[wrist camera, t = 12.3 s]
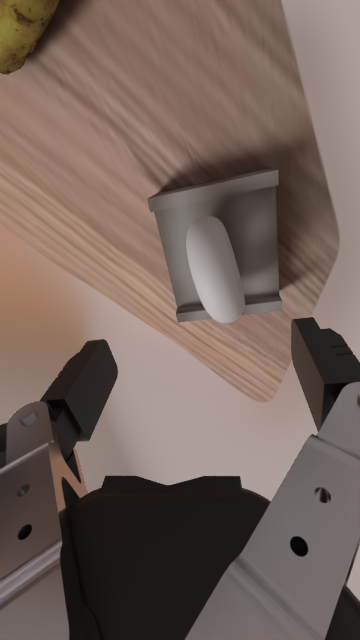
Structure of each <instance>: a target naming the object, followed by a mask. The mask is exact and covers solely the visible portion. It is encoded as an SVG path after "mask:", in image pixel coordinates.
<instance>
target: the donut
mask: <svg viewBox="0 0 360 640" xmlns="http://www.w3.org/2000/svg"><path fill="white" fill-rule="evenodd" d="M186 248H187V256H188V262H189V266H190V270H191V274H192V278H193V281H194V284H195V287H196V290H197V293H198V295H199V298H200V300H201V302H202V304H203V306H204V308H205V309H206V311H207V313H208V314H209V315H210V316H211V317H212V318H213V319H215V320H216V321H218V322H221V323H231V322H233V321H235V320H237V319H238V318H239V317H240V316H241V315H242V313H243V312H244V308H245V298H244V292H243V287H242V282H241V278H240V274H239V270H238V266H237V263H236V259H235V255H234V252H233V249H232V246H231V242H230V239H229V237H228V234H227V231H226V229H225V227H224V225H223V223H222V222H221V221H220V220H219V219H218V218H216V217H214V216H203V217H199V218H198V219H196V220H194V221H193V222H192V224H191V225H190V227H189V229H188V232H187V238H186Z"/></svg>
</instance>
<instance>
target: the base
mask: <svg viewBox="0 0 360 640" xmlns="http://www.w3.org/2000/svg"><path fill="white" fill-rule="evenodd" d="M276 185H279V178H278V170H277V169H272V168H268V169H263V170H259V171H255V172H250V173H246V174H241V175H237V176H232V177H228V178H224V179H219V180H215V181H210V182H206V183H201V184H197V185H192V186H188V187H184V188H179V189H175V190H170V191H166V192H161V193H157V194H155V195H153V196H152V197H150V198H148V199H147V200H148V204H149V208H150V212H153V211H154V213H155V217H156V221H157V225H158V229H159V233H160V237H161V242H162V246H163V250H164V254H165V258H166V262H167V266H168V270H169V275H170V279H171V283H172V287H173V291H174V295H175V299H176V304H177V312H176V316H177V320H178V322H185V321H194V320H203V319H211V318H212V317H211V316H210V315H209V314H208V313H207V311H206V309H205V308H204V306H203V304H202V302H201V300H200V298H199V295H198V293H197V290H196V287H195V284H194V281H193V278H192V274H191V270H190V266H189V262H188V256H187V248H186V238H187V232H188V229H189V227H190V225H191V224H192V222H193V221H194V220H196V219H198V218H199V217H203V216H214V217H216V218H218V219H219V220H220V221H221V222H222V223H223V225H224V227H225V229H226V231H227V234H228V237H229V239H230V242H231V246H232V249H233V252H234V255H235V259H236V263H237V266H238V270H239V274H240V278H241V282H242V287H243V292H244V298H245V308H244V312H243V313H242V315H246V314H254V313H263V312H271V311H280V310H282V300H281V298H280V295H279V270H278V239H277V208H276Z"/></svg>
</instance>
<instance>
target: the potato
mask: <svg viewBox="0 0 360 640" xmlns="http://www.w3.org/2000/svg"><path fill="white" fill-rule="evenodd" d="M58 3H59V0H0V73H3V74H10V73H12V72H14V71H16V70H18V69H20V68H21V67H22V66H24V63H25V60H26V58H27V54H28V53H31V52H33V51H34V50H35V48H36V46H37V44H38V42H39V40H40V37H41V36H42V34H43V32H44V31H45V29H46V28H47V26H48V25H49V23H50V21H51V19H52V17H53V15H54V13H55V10H56V8H57V5H58Z"/></svg>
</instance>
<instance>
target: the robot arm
mask: <svg viewBox="0 0 360 640" xmlns="http://www.w3.org/2000/svg"><path fill="white" fill-rule="evenodd" d="M291 353H292V360H293V365H294V368H295V370H296V373H297V376H298V379H299V381H300V384H301V387H302V389H303V392H304V395H305V397H306V400H307V403H308V405H309V408H310V411H311V414H312V416H313V419H314V422H315V425H316V427H317V430H318V434H317V435H316V436H315V435H313V434H312V435H310V436H309V437H308V439H307V440H306V442H305V444H304V445H303V447H302V449H301V451H300V452H299V454H298V456H297V458H296V459H295V461H294V463H293V464H292V466H291V468H290V470H289V471H288V473H287V475H286V477H285V478H284V480H283V482H282V484H281V485H280V487H279V489H278V491H277V492H276V494H275V496H274V497H273V499H272V501H271V502H270V501H269V500H268V499H266V498H264V497H263V496H261V495H259V494H257V493H255V492H253V491H250V490H247V489H244V488H242V486H241V480H240V476H203V477H199V478H196V479H192V480H188V481H184V482H180V483H177V484H173V485H163V484H160V483H157V482H153V481H151V480H147V479H144V478H141V477H138V476H105V479H104V482H103V485H102V488H99V489H97V490H94V491H92V492H90V493H88V491H87V489H86V485H85V481H84V477H83V473H82V469H81V466H80V462H79V458H78V454H77V451H76V449H75V448H74V446H75V444H76V442H77V441H89V440H90V438H91V435H92V433H93V431H94V429H95V426H96V424H97V422H98V420H99V417H100V415H101V413H102V411H103V408H104V406H105V404H106V402H107V399H108V397H109V395H110V393H111V390H112V388H113V386H114V384H115V381H116V379H117V375H118V369H117V365H116V362H115V360H114V358H113V355H112V353H111V350H110V348H109V345H108V343H107V341H106V340H104V339H101V340H92V341H87V342H86V343H85V345H84V346H83V348H82V349H81V351H80V352H79V353H77V354H76V355H75V356H74V357H72V358H71V359H70V360H69V361H68V362H67V363H66V365H65V366H64V368H63V370H62V371H61V372H60V373H59V375H58V377H57V378H56V379H55V380H54V381H53V383H52V384H51V386H50V387H49V389H48V390H47V391H46V393H45V394H44V395H43V397H42V398H41V400H40V401H38V402H33V403H30V404H28V405H26V406H24V407H22V408H21V409H19V410H18V411H17V412H16V413H15V414H14V415H13V416H12V417H11V418H10V420H9V421H8V423H5V424H2V425H0V640H360V601H359V600H358V599H357V598H356V596H354V594H353V593H352V592H351V590H350V589H349V588H348V587H347V582H348V579H349V577H350V573H351V570H352V567H353V564H354V561H355V558H356V555H357V552H358V549H359V546H360V362H359V361H358V359H357V358H356V356H355V355H353V352H352V351H351V350H350V348H349V347H348V346H347V344H346V342H345V341H344V339H343V338H342V336H341V335H339V334H338V333H336V332H335V331H333V330H331V329H330V328H329V329H320V328H319V326H318V324H317V323H316V321H315V319H314V318H313V317H310V318H301V319H293V320H292V324H291Z"/></svg>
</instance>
